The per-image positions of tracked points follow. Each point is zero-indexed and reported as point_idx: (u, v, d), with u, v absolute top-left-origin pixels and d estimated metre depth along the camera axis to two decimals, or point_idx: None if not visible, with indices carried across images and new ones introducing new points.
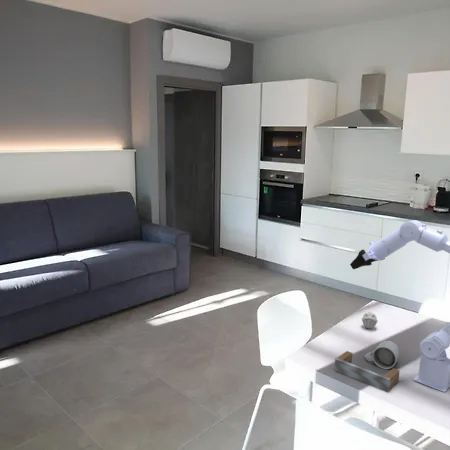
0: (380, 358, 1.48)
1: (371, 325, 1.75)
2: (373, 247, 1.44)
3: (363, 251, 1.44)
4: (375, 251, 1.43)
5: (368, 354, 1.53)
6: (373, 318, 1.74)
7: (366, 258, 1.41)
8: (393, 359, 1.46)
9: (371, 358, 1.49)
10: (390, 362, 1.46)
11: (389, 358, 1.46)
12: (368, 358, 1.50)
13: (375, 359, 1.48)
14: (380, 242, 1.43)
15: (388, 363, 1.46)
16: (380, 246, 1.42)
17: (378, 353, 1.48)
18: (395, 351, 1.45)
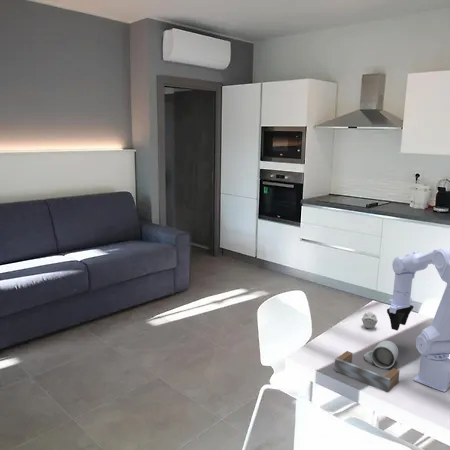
0: (379, 358, 1.48)
1: (371, 325, 1.75)
2: (393, 301, 1.54)
3: (389, 309, 1.53)
4: (397, 302, 1.53)
5: (367, 354, 1.53)
6: (373, 318, 1.74)
7: (393, 311, 1.50)
8: (392, 359, 1.46)
9: (370, 358, 1.49)
10: (389, 362, 1.46)
11: (388, 358, 1.46)
12: (367, 358, 1.50)
13: (374, 359, 1.49)
14: (393, 293, 1.54)
15: (387, 363, 1.47)
16: (396, 296, 1.53)
17: (377, 353, 1.49)
18: (394, 351, 1.46)
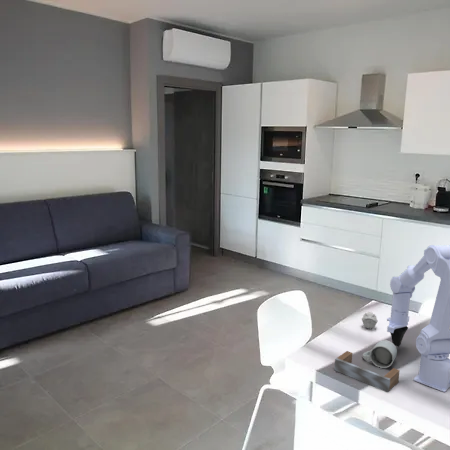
0: (377, 357, 1.48)
1: (371, 325, 1.75)
2: (391, 320, 1.56)
3: None
4: (395, 321, 1.54)
5: (365, 353, 1.54)
6: (373, 318, 1.74)
7: (391, 330, 1.51)
8: (390, 358, 1.47)
9: (368, 357, 1.49)
10: (387, 361, 1.47)
11: (386, 357, 1.47)
12: (365, 357, 1.50)
13: (372, 358, 1.49)
14: (391, 312, 1.55)
15: (385, 362, 1.47)
16: (394, 315, 1.54)
17: (375, 352, 1.49)
18: (392, 350, 1.46)
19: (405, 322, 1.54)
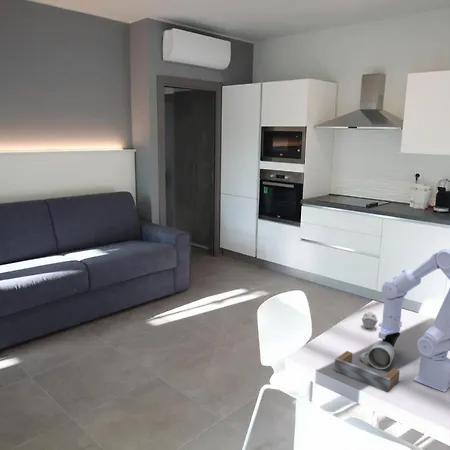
0: (375, 358, 1.47)
1: (371, 325, 1.75)
2: (383, 325, 1.51)
3: None
4: (386, 327, 1.49)
5: (363, 354, 1.53)
6: (373, 318, 1.74)
7: (382, 337, 1.46)
8: (388, 359, 1.46)
9: (366, 358, 1.48)
10: (385, 362, 1.46)
11: (384, 358, 1.46)
12: (363, 358, 1.49)
13: (370, 359, 1.48)
14: (383, 317, 1.50)
15: (383, 363, 1.46)
16: (386, 320, 1.49)
17: (373, 353, 1.48)
18: (390, 351, 1.45)
19: (397, 328, 1.49)
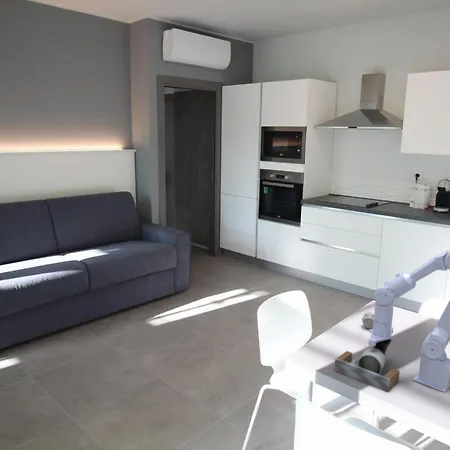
0: (365, 366, 1.42)
1: (371, 325, 1.75)
2: (373, 332, 1.45)
3: None
4: (377, 334, 1.44)
5: (353, 362, 1.47)
6: (373, 318, 1.74)
7: (373, 344, 1.41)
8: (378, 367, 1.40)
9: None
10: (375, 370, 1.40)
11: (374, 366, 1.40)
12: None
13: None
14: (373, 323, 1.45)
15: (373, 371, 1.41)
16: (376, 327, 1.44)
17: (363, 361, 1.43)
18: (380, 359, 1.40)
19: (388, 334, 1.43)
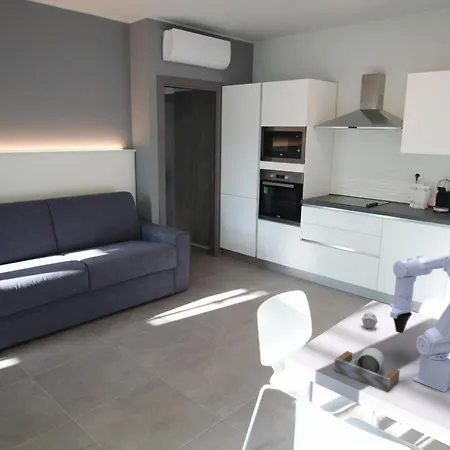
0: (364, 366, 1.42)
1: (371, 325, 1.75)
2: (394, 305, 1.50)
3: None
4: (398, 307, 1.49)
5: (352, 362, 1.48)
6: (373, 318, 1.74)
7: (394, 316, 1.45)
8: (377, 367, 1.41)
9: None
10: (374, 370, 1.41)
11: (373, 366, 1.41)
12: None
13: None
14: (394, 297, 1.50)
15: (372, 371, 1.41)
16: (397, 300, 1.49)
17: (362, 361, 1.43)
18: (379, 359, 1.40)
19: (409, 307, 1.48)
